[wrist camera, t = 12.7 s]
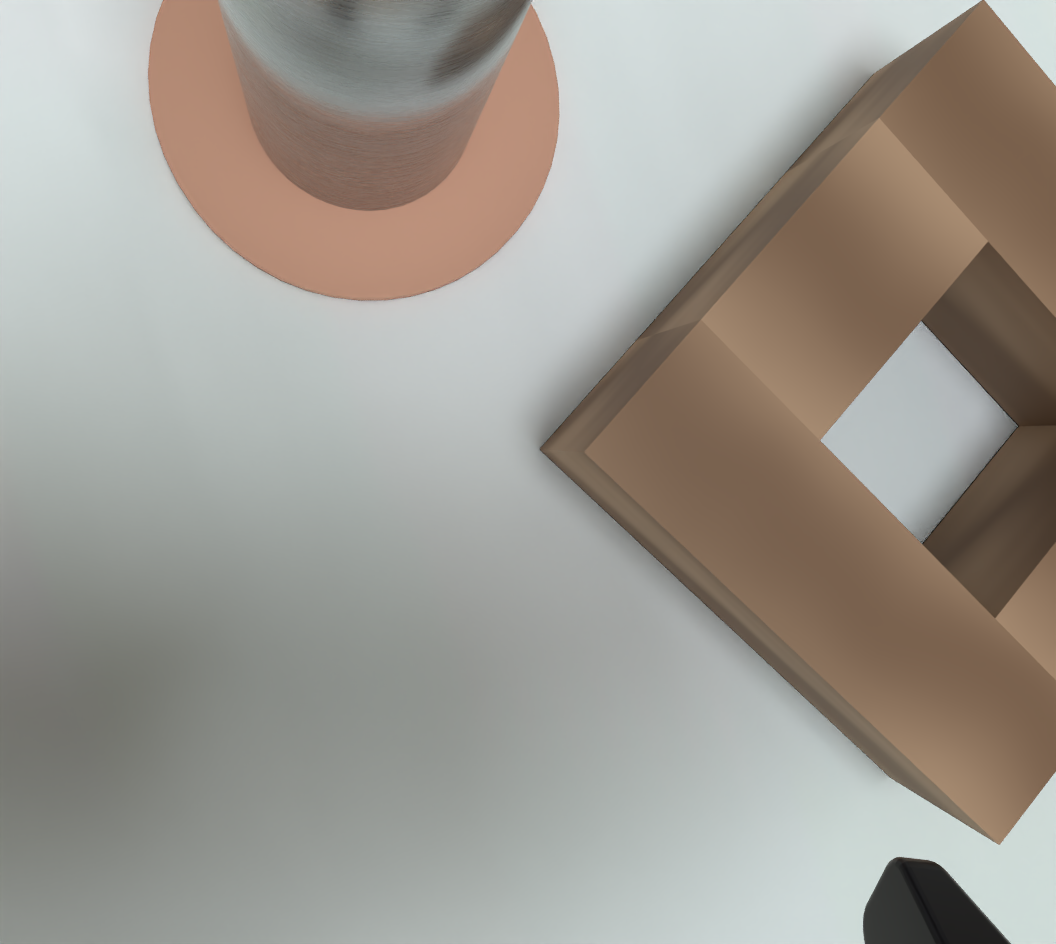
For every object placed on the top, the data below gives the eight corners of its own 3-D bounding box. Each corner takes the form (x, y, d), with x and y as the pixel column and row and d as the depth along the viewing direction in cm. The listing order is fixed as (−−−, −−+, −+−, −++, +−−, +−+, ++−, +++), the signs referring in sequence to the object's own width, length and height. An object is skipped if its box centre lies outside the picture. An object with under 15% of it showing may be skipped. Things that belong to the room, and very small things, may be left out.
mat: (495, 351, 21) (497, 349, 21) (100, 224, 19) (95, 219, 19) (600, -11, 22) (604, -19, 21) (218, -171, 20) (216, -183, 19)
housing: (891, 778, 24) (998, 844, 20) (539, 449, 22) (583, 451, 18) (1175, 418, 25) (1328, 415, 21) (874, 73, 23) (983, -1, 19)
